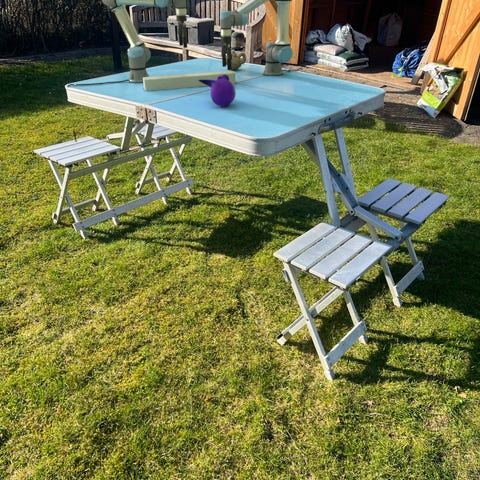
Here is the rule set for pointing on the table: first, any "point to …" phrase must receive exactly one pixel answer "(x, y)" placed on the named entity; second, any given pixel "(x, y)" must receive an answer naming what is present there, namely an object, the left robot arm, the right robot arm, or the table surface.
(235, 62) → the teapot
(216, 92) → the toy
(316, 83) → the table surface
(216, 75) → the thick block
